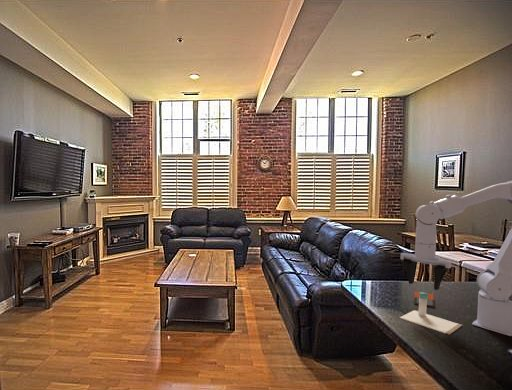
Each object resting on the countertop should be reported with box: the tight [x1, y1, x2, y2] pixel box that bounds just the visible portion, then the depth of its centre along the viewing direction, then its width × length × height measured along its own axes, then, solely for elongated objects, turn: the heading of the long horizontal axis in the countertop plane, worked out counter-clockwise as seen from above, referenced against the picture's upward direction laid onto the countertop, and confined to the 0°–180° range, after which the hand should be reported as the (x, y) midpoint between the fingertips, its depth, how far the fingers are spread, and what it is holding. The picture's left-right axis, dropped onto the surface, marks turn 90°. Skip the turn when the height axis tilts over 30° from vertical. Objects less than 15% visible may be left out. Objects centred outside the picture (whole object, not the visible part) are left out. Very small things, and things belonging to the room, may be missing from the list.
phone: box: [413, 291, 436, 309], centre depth 118 cm, size 6×1×15 cm
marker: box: [417, 291, 429, 317], centre depth 102 cm, size 2×2×7 cm
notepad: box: [399, 309, 463, 336], centre depth 98 cm, size 14×10×1 cm
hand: (423, 286), depth 102 cm, fingers open, 7 cm apart
